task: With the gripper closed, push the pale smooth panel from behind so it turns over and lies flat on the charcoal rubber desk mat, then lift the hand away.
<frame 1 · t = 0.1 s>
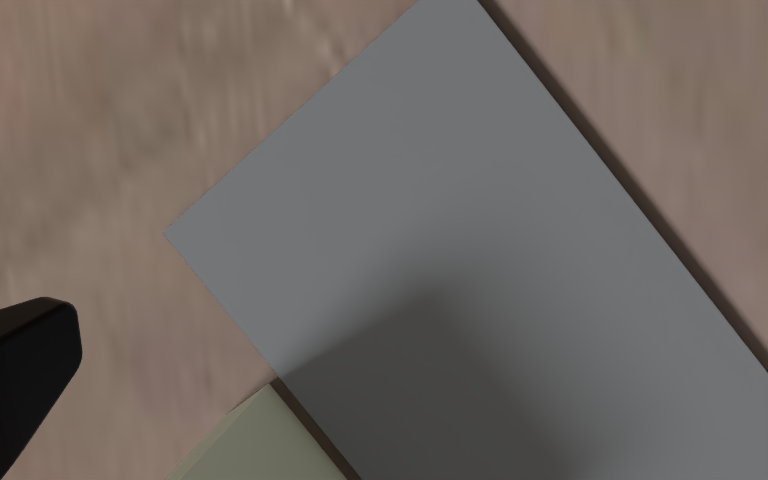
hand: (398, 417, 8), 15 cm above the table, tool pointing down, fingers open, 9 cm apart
desk mat: (509, 378, 24), on the table
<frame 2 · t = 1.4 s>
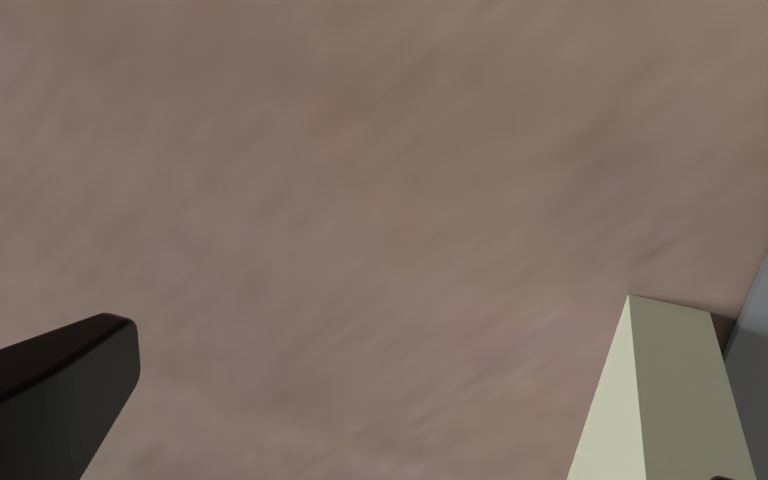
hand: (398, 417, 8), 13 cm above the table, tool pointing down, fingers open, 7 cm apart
pale smooth panel: (624, 423, 23), on the table
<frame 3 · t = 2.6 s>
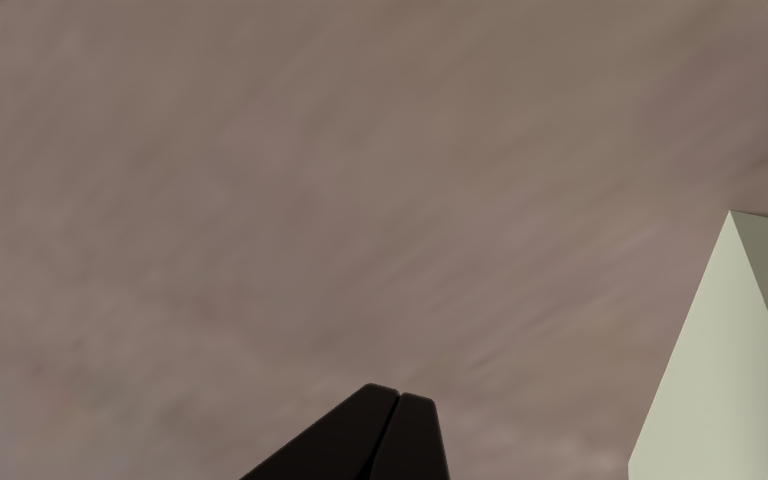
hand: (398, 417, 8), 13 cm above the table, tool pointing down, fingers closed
pale smooth panel: (713, 361, 21), on the table
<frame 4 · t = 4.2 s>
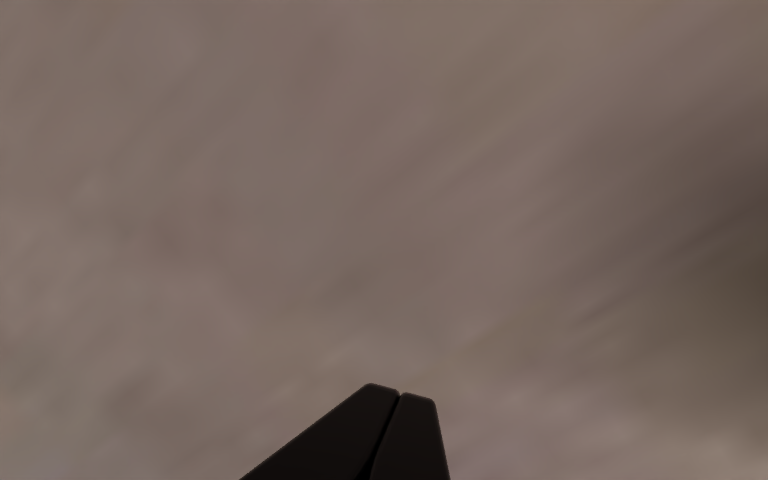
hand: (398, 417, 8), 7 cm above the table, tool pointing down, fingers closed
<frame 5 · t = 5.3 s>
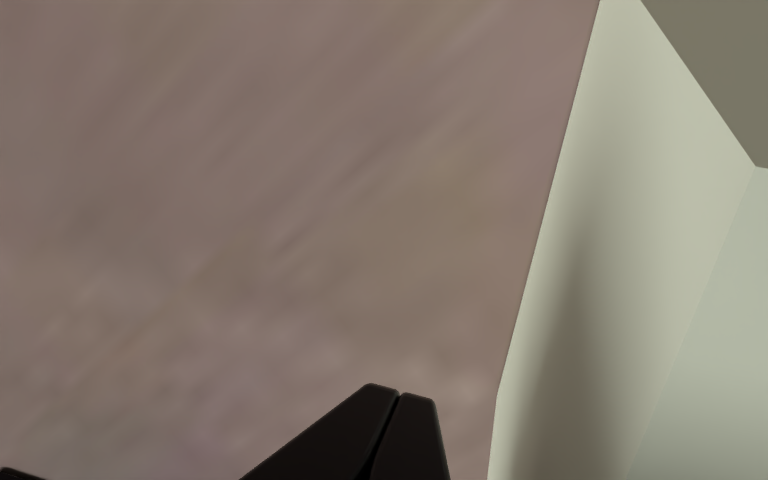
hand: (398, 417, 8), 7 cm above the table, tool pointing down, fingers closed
pale smooth panel: (602, 225, 14), on the table, touching gripper
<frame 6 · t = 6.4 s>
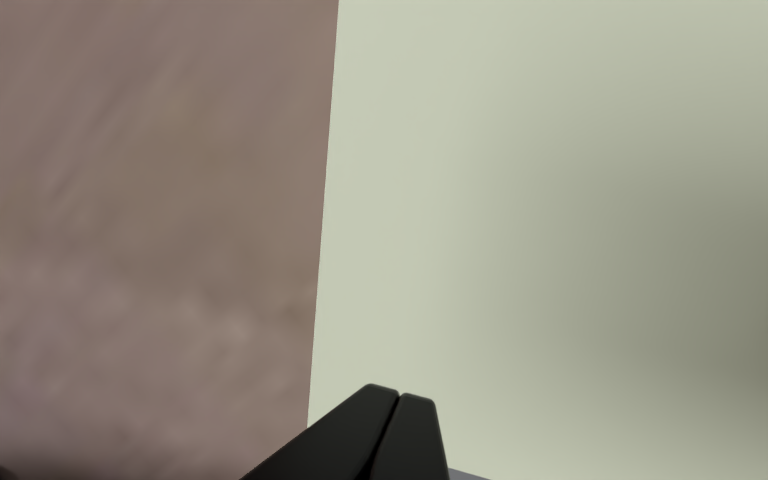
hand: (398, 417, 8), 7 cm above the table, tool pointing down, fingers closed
pale smooth panel: (342, 200, 14), point 2 cm above the table, tilted 90°, touching desk mat
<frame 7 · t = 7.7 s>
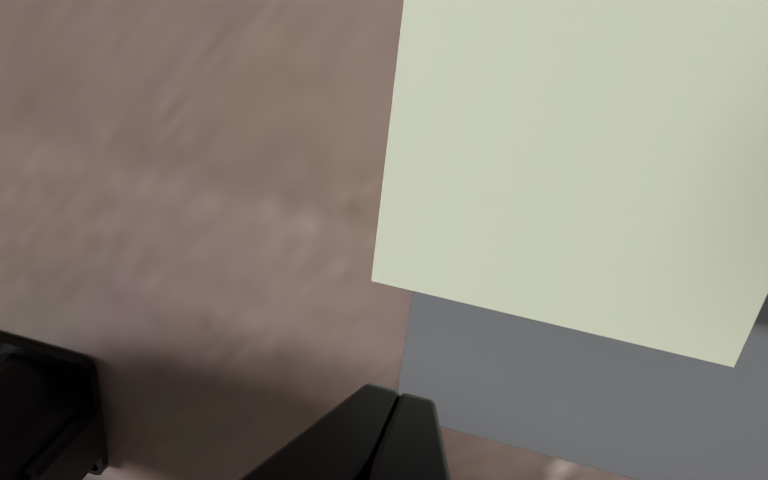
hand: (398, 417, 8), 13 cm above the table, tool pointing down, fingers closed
desk mat: (699, 140, 18), on the table
pale smooth panel: (401, 103, 18), point 2 cm above the table, tilted 90°, touching desk mat
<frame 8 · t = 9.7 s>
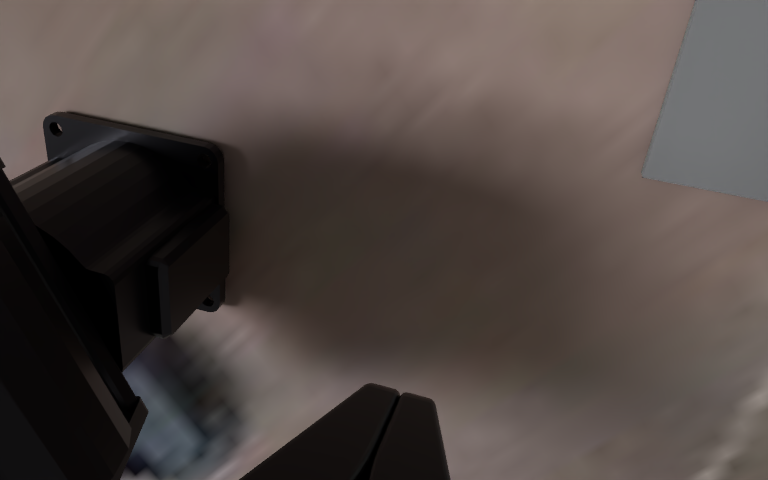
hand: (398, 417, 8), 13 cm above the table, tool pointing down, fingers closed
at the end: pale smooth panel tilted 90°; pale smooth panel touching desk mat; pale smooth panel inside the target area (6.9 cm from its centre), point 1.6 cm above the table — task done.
